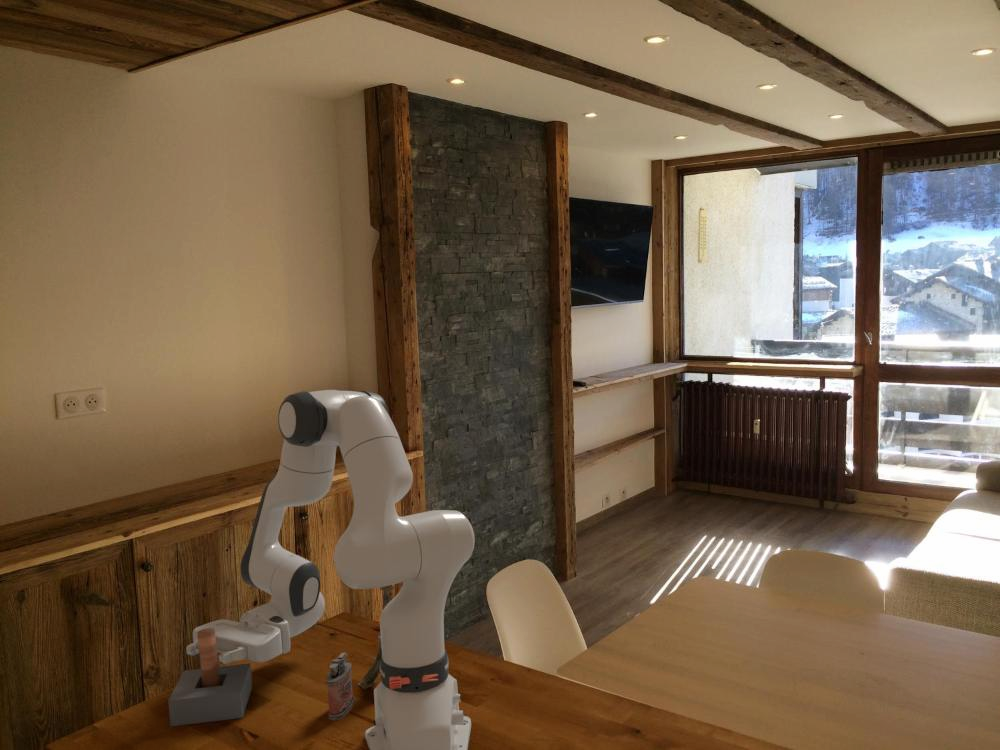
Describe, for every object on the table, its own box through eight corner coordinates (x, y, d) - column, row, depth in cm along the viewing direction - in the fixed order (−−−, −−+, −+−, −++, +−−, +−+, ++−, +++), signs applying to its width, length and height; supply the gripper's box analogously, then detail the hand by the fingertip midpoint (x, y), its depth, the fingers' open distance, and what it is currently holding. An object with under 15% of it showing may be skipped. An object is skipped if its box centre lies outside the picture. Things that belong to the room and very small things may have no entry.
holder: (242, 717, 159) (240, 692, 159) (170, 726, 157) (168, 700, 157) (252, 686, 172) (250, 663, 171) (186, 694, 170) (183, 670, 170)
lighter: (341, 720, 156) (338, 668, 155) (324, 719, 157) (320, 667, 156) (357, 699, 164) (354, 650, 163) (341, 699, 164) (337, 649, 164)
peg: (219, 703, 163) (212, 633, 162) (202, 705, 163) (195, 635, 161) (222, 696, 166) (216, 627, 165) (206, 698, 166) (199, 629, 165)
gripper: (224, 607, 180) (168, 631, 168) (293, 622, 169) (239, 648, 157) (226, 636, 180) (171, 661, 169) (295, 652, 170) (242, 681, 158)
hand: (204, 655), depth 163 cm, fingers open, 8 cm apart
